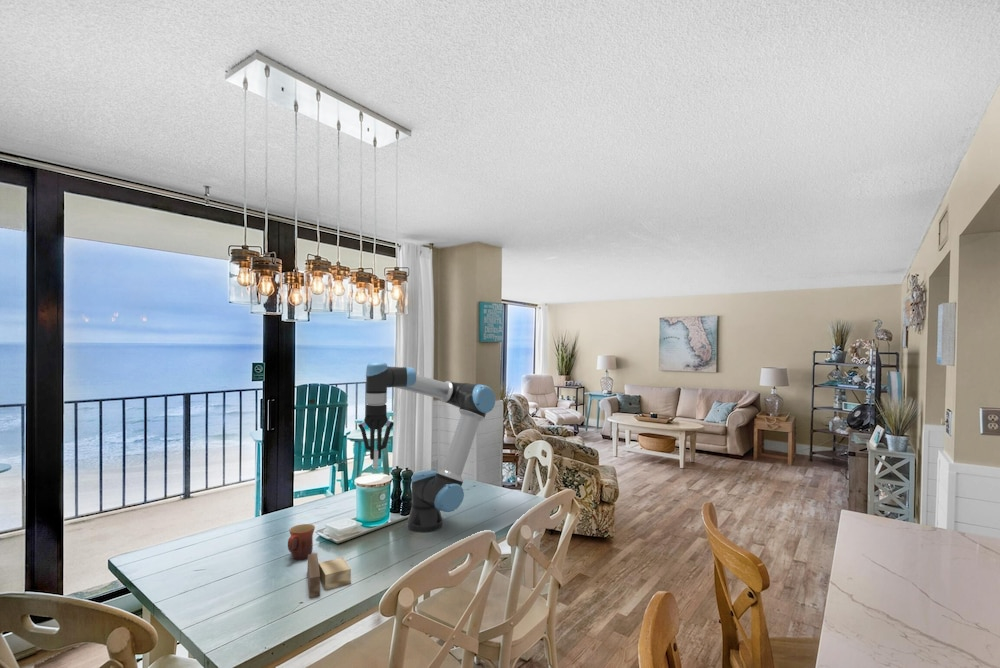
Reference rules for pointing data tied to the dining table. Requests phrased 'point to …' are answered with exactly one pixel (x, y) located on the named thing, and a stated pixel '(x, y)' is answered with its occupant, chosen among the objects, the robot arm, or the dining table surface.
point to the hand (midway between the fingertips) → (375, 467)
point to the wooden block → (313, 575)
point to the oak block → (334, 573)
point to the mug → (301, 541)
